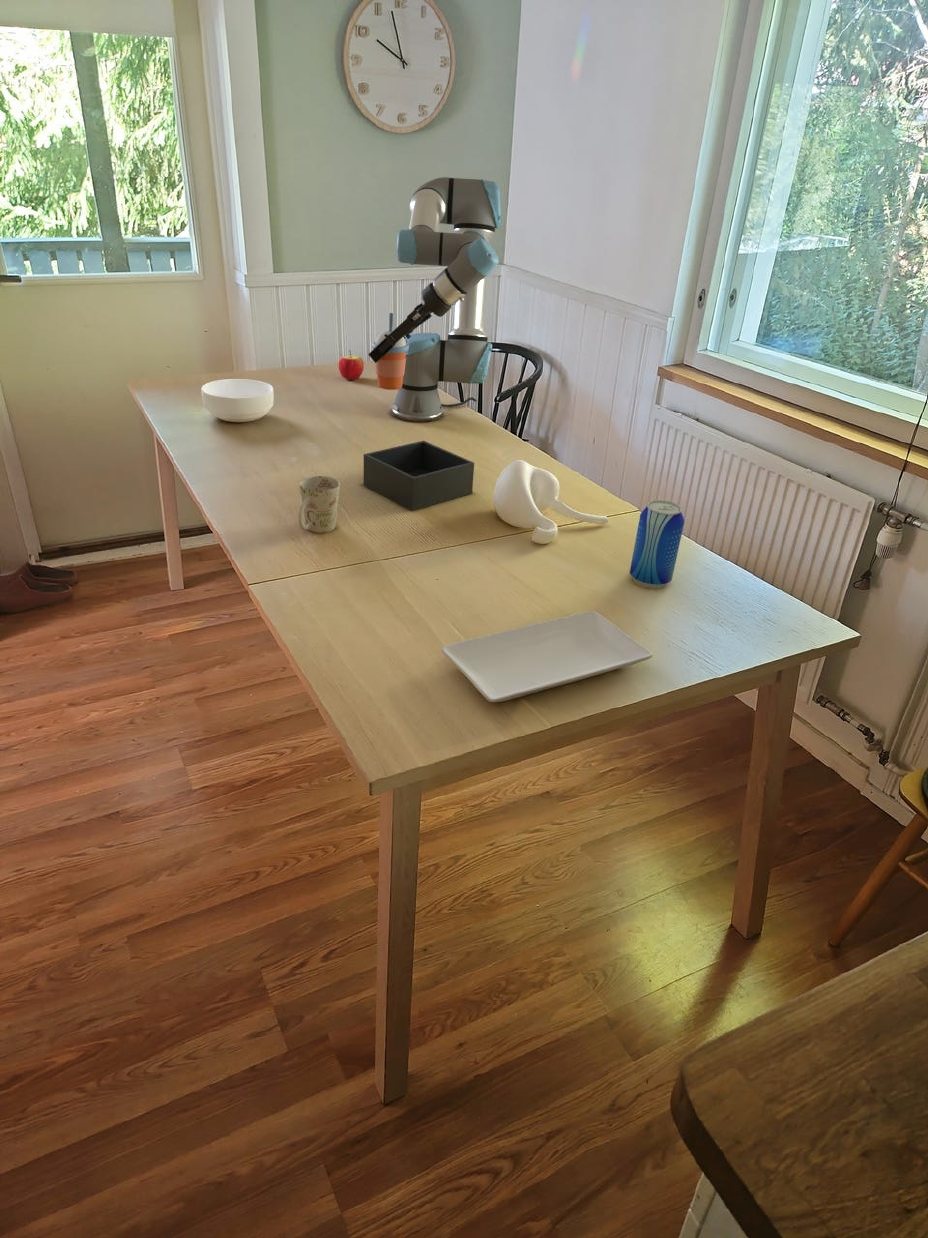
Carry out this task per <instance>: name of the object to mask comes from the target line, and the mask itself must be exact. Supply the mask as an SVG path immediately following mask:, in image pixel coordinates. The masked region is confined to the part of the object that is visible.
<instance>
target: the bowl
mask: <svg viewBox="0 0 928 1238" xmlns="http://www.w3.org/2000/svg"><path fill="white" fill-rule="evenodd" d="M200 392H201V399H202V404H203V407H204V408H205V409H206V410H207V411H208V412H209V413H210V414H211V415H213V416H214V417H216V418H218V419H220V420H221V421H225V422H232V423H246V422H247V423H248V422H253V421H256V420H259V419H261V418H263V417H264V416H265V415H267V414H268V413H269V411H270V410H271V409H272V408H273V407H274V401H275V400H274V399H275V397H274V396H275V394H274V387H273V386H272V385H271V384H270V383H268V382H265V381H260V380H256V379H248V378H227V379H226V378H225V379H217V380H213V381H209V382H207V383H205V384H203V385H202V386H201V387H200Z"/></svg>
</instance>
